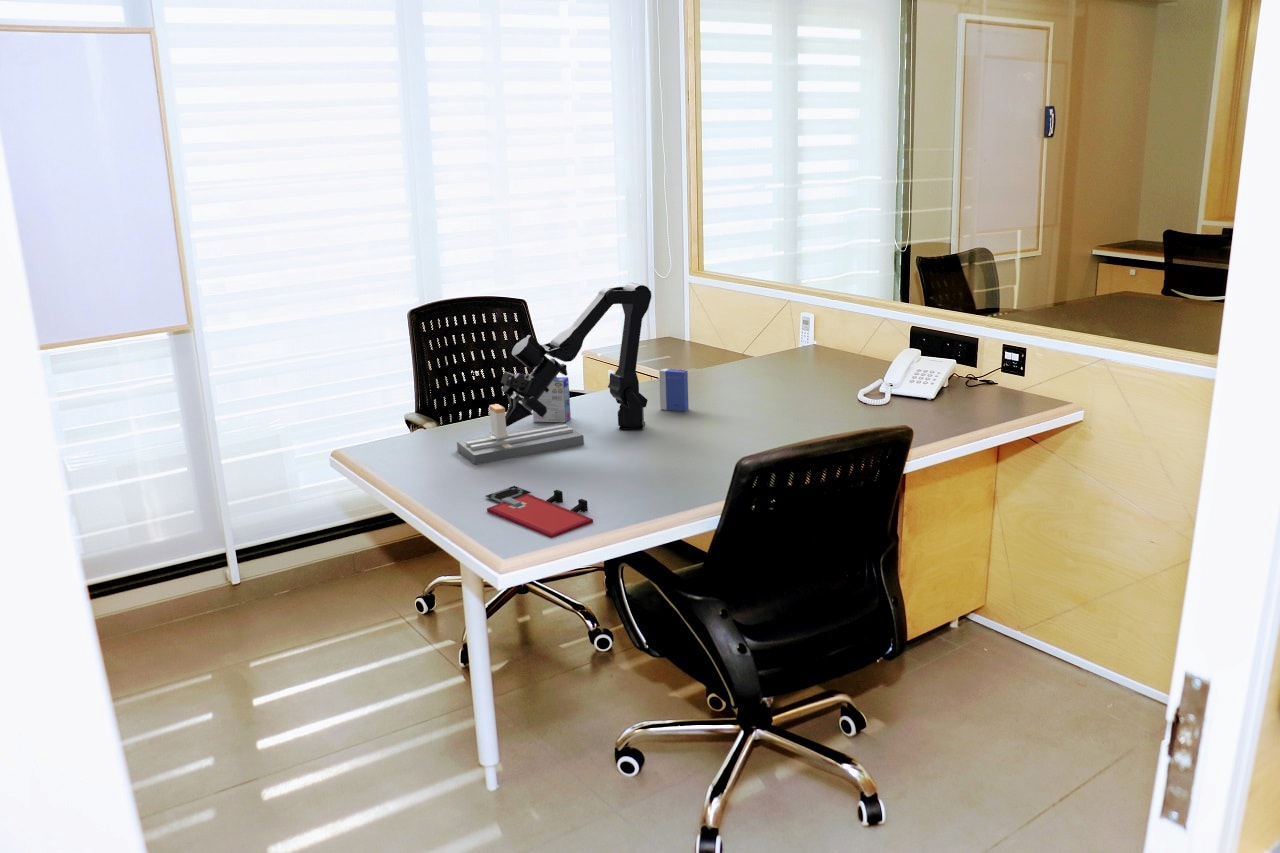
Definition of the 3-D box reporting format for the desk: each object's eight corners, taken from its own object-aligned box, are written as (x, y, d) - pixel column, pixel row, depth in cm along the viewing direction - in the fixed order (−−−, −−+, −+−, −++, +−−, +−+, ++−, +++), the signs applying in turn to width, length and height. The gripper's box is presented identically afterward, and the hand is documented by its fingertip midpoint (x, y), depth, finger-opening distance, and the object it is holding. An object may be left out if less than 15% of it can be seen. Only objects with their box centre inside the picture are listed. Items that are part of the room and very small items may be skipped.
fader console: (562, 431, 285) (561, 420, 284) (583, 444, 273) (583, 432, 272) (457, 450, 272) (456, 438, 271) (475, 464, 260) (474, 452, 259)
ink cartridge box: (571, 417, 299) (568, 368, 294) (566, 423, 293) (563, 373, 289) (538, 417, 301) (535, 368, 296) (533, 422, 295) (529, 372, 291)
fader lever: (501, 437, 273) (498, 403, 270) (509, 442, 268) (506, 408, 265) (490, 439, 271) (487, 405, 269) (497, 444, 266) (495, 410, 264)
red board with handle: (521, 487, 243) (467, 505, 233) (520, 476, 242) (466, 494, 233) (606, 519, 222) (551, 541, 212) (605, 507, 221) (551, 529, 212)
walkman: (688, 409, 302) (687, 369, 299) (684, 411, 300) (683, 371, 297) (664, 407, 306) (662, 367, 302) (660, 409, 303) (658, 369, 300)
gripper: (505, 353, 275) (469, 400, 273) (532, 366, 259) (493, 416, 257) (535, 378, 280) (499, 424, 279) (563, 392, 264) (525, 441, 263)
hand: (503, 425), depth 269 cm, fingers closed, pressing on fader lever
